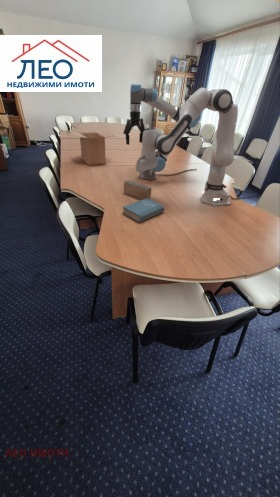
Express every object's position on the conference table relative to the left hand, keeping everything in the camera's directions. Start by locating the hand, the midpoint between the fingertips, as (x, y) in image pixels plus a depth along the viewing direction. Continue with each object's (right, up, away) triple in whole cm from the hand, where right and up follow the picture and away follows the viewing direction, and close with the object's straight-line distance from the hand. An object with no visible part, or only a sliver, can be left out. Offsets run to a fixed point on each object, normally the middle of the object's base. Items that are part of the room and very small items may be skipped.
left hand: (134, 143), depth 170 cm
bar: (+2, -41, -1) cm, 41 cm away
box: (-46, +13, +67) cm, 82 cm away
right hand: (+9, -30, -15) cm, 35 cm away
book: (+7, -58, -23) cm, 62 cm away
